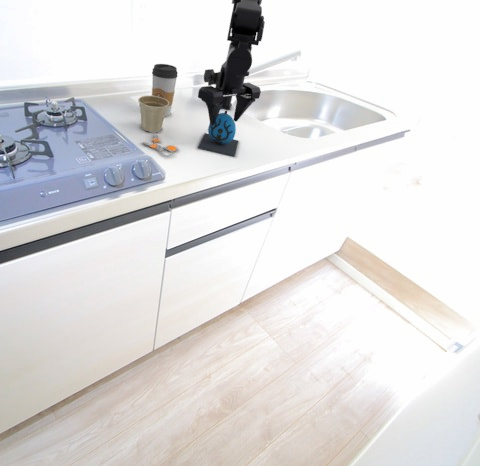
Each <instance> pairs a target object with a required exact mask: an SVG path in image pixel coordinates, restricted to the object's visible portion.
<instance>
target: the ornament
mask: <svg viewBox="0 0 480 466" xmlns="http://www.w3.org/2000/svg"><path fill="white" fill-rule="evenodd" d="M207 134H209V136H210V138H211V139H212V140H213V141H215V142H216V143H219V144H226V143H229V142H231V141H232V140H233V139H234V138H235V136H236V122H235V121H234V117H232V116H231V115H230V114H228V110H224V112H221V113H220V112H219V114H218V116H217V119H216V121H215V123H214V125H213V126H212V125H211V124H210V123H209V125H208V129H207Z"/></svg>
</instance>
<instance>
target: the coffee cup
mask: <svg viewBox="0 0 480 466" xmlns="http://www.w3.org/2000/svg"><path fill="white" fill-rule="evenodd" d="M177 69H178V68H177V67H176V66H175V65H171V64H167V63H156V64H154V65H153V68H152V72H151V74H152V86H151V87H152V88H151V96H158V97H161V98H164V99H166V100H168V101H169V106H168V107H167V110H166V112H165V116H164V118H165V117H169V116H170V114H171V111H172V106H173V102H174V96H175V89H176V84H177V78H178V70H177Z"/></svg>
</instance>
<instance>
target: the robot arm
mask: <svg viewBox="0 0 480 466" xmlns="http://www.w3.org/2000/svg"><path fill="white" fill-rule="evenodd" d="M262 2H263V0H231V4H233V7H232V12H231V17H230V21H229V28H228V33H227V39H226V41H227V42H228V41H229V42H230V43H229V47H228V50H227V55H226V60H225V61H224V62H223V63H222V64H221V68H220V70H219V71H218V72H215V70H214V69H213V68H212V69H205V70H204V73H203V74H204V75H203V82H204V83H207V85H205V86H201V87H200V88H199V89H198V93H197V98H198V99H200V100H201V101H202V102H203V103H205V105H206V108H207V112H208V113H207V114H208V118H209V125H210V124H211V125H212V126H213V125H214V123H215V121H216V119H217V116H218V114H220V111H221V109H224V110H227V111H228V110H229V111H230V110H231V108H232V105H233V104H232V99H233V97H235V99H236V103H235V109H234V114H233V120H234V122H235V123H237V122H238V121H239V119H240V118H241V117H242V116H243V115H244V113H245V112H246V111H247V110H248V109H249V107H250V106H251V105H252V104H254V103H255V102H256V100H257V99H260V97H261V93H262V91H261V87H260V86H257V85H256V84H253V83H250V82H245V79H246V77H249V76H250V69H251V67H252V66H253V65H252V64H253V56H252V49H253V47H252V46H259V43H260V42H262V40H263V35H264V29H265V24H266V22H265V17H264V15H263V7H262V6H261V5H262ZM213 85H214V86H213Z"/></svg>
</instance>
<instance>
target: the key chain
mask: <svg viewBox="0 0 480 466" xmlns="http://www.w3.org/2000/svg"><path fill="white" fill-rule="evenodd" d="M152 142H153V143H149V142H146V141H143V142H142V144H144V145H145V146H148V147H150V148H152V149H156V150H158V151H159V153H161V154H162V155H163V156H164V157H171V156H173V155H175V152H176V151H178V148H177V146H175V145H167V146H164V147H163V146H162V145H161V144H155V143H158V142H160V139H159V138H158V135H157V134H154V135H153V138H152ZM165 150H166V151H169V152H170V153H171V154H165V153H164V152H163V151H165Z"/></svg>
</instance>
